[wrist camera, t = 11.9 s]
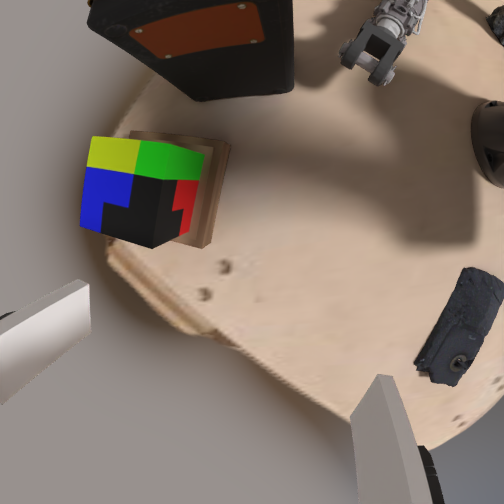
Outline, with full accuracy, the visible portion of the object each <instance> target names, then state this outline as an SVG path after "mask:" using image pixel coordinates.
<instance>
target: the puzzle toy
mask: <svg viewBox="0 0 504 504" xmlns="http://www.w3.org/2000/svg"><path fill="white" fill-rule="evenodd" d="M204 157H205V154H202V153H199V152H195V151H192V150H189V149H186V148H183V147H179V146H176V145H173V144H167V143H160V142H152V141H143V140H134V139H123V138H111V137H95V136H93V137H92V140H91V145H90V150H89V155H88V162H87V167H86V174H85V180H84V188H83V196H82V205H81V216H80V226H81V227H84V228H87V229H90V230H93V231H96V232H99V233H102V234H105V235H109V236H112V237H115V238H118V239H121V240H124V241H128V242H131V243H134V244H137V245H141V246H144V247H147V248H150V249H153V248H155V247H157V246H159V245H162V244H164V243H166V242H168V241H170V240H172V239H174V238H176V237H178V236H180V235H183V234H185V233H187V232H189V229H190V224H191V219H192V213H193V208H194V203H195V198H196V193H197V188H198V184H199V179H200V175H201V170H202V166H203V161H204Z"/></svg>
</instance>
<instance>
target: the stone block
mask: <svg viewBox="0 0 504 504" xmlns="http://www.w3.org/2000/svg"><path fill="white" fill-rule="evenodd" d="M486 20H487V22H488V23H489V25H490V27H491V29H492V31H494V33H495V34H496V36H497V37H498V38H499V40H500V42H501V43H502V44H503V45H504V5H503V6H501V7H497V8H496V9H495V10H494V11H493V12H492V14H491V15H490V16H488V18H487V17H486Z"/></svg>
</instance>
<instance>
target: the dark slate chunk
mask: <svg viewBox="0 0 504 504" xmlns="http://www.w3.org/2000/svg"><path fill="white" fill-rule="evenodd" d="M503 299H504V283H503V282H502V281H501V280H500V279H498V278H497V277H496V276H494V275H490V274H489V273H487V272H485V271H482V270H478V269H476V268H468V269H466V268H464V269H463V270H462V272H461V275H460V277H459V278H458V281H457V284H456V287H455V289H454V291H453V292H452V295H451V297H450V298H449V301H448V303H447V305H446V306H445V308H444V310H443V312H442V314H441V316H440V318H439V320H438V322H437V324H436V326H435V328H434V330H433V331H432V333H431V335H430V337H429V339H428V340H427V342H426V344H425V346H424V347H423V349H422V351H421V352H420V354H419V355H418V357H417V359H416V360H415V362H414V365H416V366H417V370H416V371H424V372H429V376H430V380H431V382H433V383H437V384H447V385H448V386H452V387H454V386H456V385H457V383H458V381H459V380H460V378H461V377H462V375H463V374H465V373H466V371H467V370H468V369H469V367H470V366H471V364H472V363H473V361H474V359H475V357H476V355H477V353H478V352H479V350H480V347H481V346H482V344H483V342H484V338H485V336H487V334H488V332H489V330H490V329H491V326H492V324H493V322H494V319H495V318H496V315H497V312H498V310H499V307H500V305H501V304H502V302H503ZM458 359H460V360H458Z"/></svg>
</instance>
